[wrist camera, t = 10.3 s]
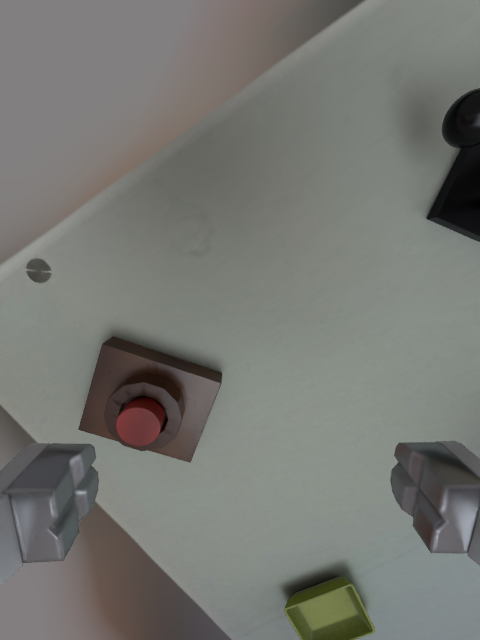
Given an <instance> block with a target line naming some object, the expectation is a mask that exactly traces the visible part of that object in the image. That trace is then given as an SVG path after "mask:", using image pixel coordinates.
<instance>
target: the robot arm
mask: <svg viewBox="0 0 480 640" xmlns="http://www.w3.org/2000/svg"><path fill="white" fill-rule="evenodd" d="M394 456H395V458H396V459H397V461H398V463H397V465H396V466H395V467H394V468H393V469H392V472H391V480H390V481H391V486H392V492H393V494H394V496H395V499H396V501H397V502H398V504H399V506H400V507H401V509H402V510H404V511H405V512H406V513H408V514H409V515H411V516H412V517H413V527H414V528H415V530H416V531H417V533H418V534H419V536H420V537H421V539H422V540H423V542H424V543H425V545H426V546H427V548H428V549H429V551H430V552H431V553H468V556H469V557H470V558H471V559H472V560H474V561H475V562H476V563H477V564H479V565H480V459H479V458H478V457H477V456H475V455H474V454H473V453H472V452H470V451H469V450H468V449H467V448H466V447H464V446H463V445H462V444H461V443H458V442H456V441H436V442H408V443H398V445H397V446H396V449H395V454H394ZM95 459H96V454H95V448H94V446H93V445H91V444H58V443H53V444H49V443H33V444H30V445H27V446H26V447H25V448H24V449H23V450H22V451H21V452H20V453H18V455H16V456H15V457H14V458H13V459H12V460H11V461H10V462H9V463H8V464H7V465H6V466H5V467H4V468H3V469H2V470H1V471H0V585H1V584H3V583H4V582H5V581H6V580H7V579H8V578H9V577H11V576H12V575H13V574H14V573H15V572H16V571H17V570H18V569H20V568H21V567H22V566H23V563H31V562H48V561H63V560H64V559H65V557H66V555H67V553H68V551H69V550H70V548H71V546H72V544H73V542H74V540H75V539H76V537H77V535H78V533H79V525H78V522H79V521H80V520H82V519H83V518H84V517H85V516H87V515H88V514H89V512H90V511H91V508H92V507H93V505H94V502H95V499H96V495H97V492H98V483H99V479H98V472H97V471H96V470H95V469H94V468H93V467H92V466H91V465H92V464H93V462H94V460H95Z"/></svg>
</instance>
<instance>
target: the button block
mask: <svg viewBox="0 0 480 640" xmlns="http://www.w3.org/2000/svg"><path fill="white" fill-rule="evenodd" d="M221 381H222V373H220V372H217V371H214V370H211V369H208V368H205V367H202V366H199V365H196V364H193V363H190V362H187V361H184V360H181V359H178V358H175V357H172V356H169V355H166V354H163V353H160V352H157V351H154V350H151V349H148V348H145V347H142V346H139V345H136V344H133V343H130V342H127V341H124V340H121V339H118V338H115V337H111V338H110V339H109V340H107V341H106V342H104V343H103V344H102V347H101V351H100V354H99V358H98V361H97V365H96V369H95V372H94V376H93V379H92V383H91V386H90V390H89V394H88V397H87V401H86V404H85V408H84V411H83V415H82V418H81V422H80V426H79V430H81V431H85V432H88V433H92V434H95V435H98V436H102V437H105V438H109V439H112V440H115V441H119V442H120V443H121V444H122V445H124V446H127V447H130V448H134V449H137V450H140V451H142V450H143V451H145V450H149V451H153V452H156V453H160V454H163V455H166V456H170V457H173V458H177V459H180V460H183V461H187V462H191V460H192V457H193V455H194V452H195V449H196V447H197V444H198V442H199V439H200V437H201V434H202V432H203V429H204V426H205V424H206V421H207V419H208V416H209V414H210V411H211V408H212V406H213V403H214V401H215V398H216V396H217V393H218V391H219V388H220V385H221ZM139 397H148V398H151V399H153V400H155V401H157V402H158V403H159V404H160V405H161V406H162V408H163V410H164V413H165V420H164V423H163V426H162V428H161V431H160V433H159V436H158V437H157V438H156V440H154V441H153V442H152V443H150V444H148V445H144V446H135V445H131V444H129V443H127V442H125V441H124V440H122V438H121V437H120V436H119V434H118V433H117V429H116V421H117V418H118V416H119V415H120V413H121V412H122V410H123V409H124V407H125V406H126V405H127V403H128V402H130V401H131V400H133V399H135V398H139Z"/></svg>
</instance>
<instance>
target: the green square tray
mask: <svg viewBox="0 0 480 640" xmlns="http://www.w3.org/2000/svg"><path fill="white" fill-rule="evenodd" d="M284 612H285V614H286V616H287V617H288V619H289V621H290V622H291V624H292V626H293V627H294V629H295V631H296V632H297V634H298V636H299V637H300V639H301V640H355V639H358V638H361V637H364V636H367V635H370V634H372V633H374V632H375V628H374V626H373V623H372V622H371V620H370V618H369V616H368V614H367V612H366V610H365V608H364V605H363V603H362V602H361V599H360V597H359V595H358V593H357V591H356V589H355V587H354V585H353V584H352V583H351V582H349V581H348V580H346V579H345V578H342V577H335V578H333V579H330V580H328V581H325V582H322V583H320V584H317V585H315V586H312V587H309V588H307V589H304V590H301V591H298V592H296V593H294V594H293V595H292V596H291V597H290V599H289V600H288V602H287V604H286V606H285V608H284Z"/></svg>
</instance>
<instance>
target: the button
mask: <svg viewBox="0 0 480 640" xmlns="http://www.w3.org/2000/svg"><path fill="white" fill-rule="evenodd" d="M164 420H165V413H164V410H163V408H162V406H161V405H160V404H159V403H158V402H157V401H155V400H153V399H151V398H148V397H139V398H135V399H133V400H131V401H130V402H128V403H127V405H126V406H125V407H124V409H123V410H122V412H121V413H120V415H119V416H118V418H117V421H116V429H117V433H118V434H119V436H120V437H121V438H122V440H124V441H125V442H127V443H129V444H131V445H135V446H144V445H148V444H150V443H152V442H153V441H154V440H156V438H157V437H158V436H159V433H160V431H161V428H162V426H163V423H164Z"/></svg>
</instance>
